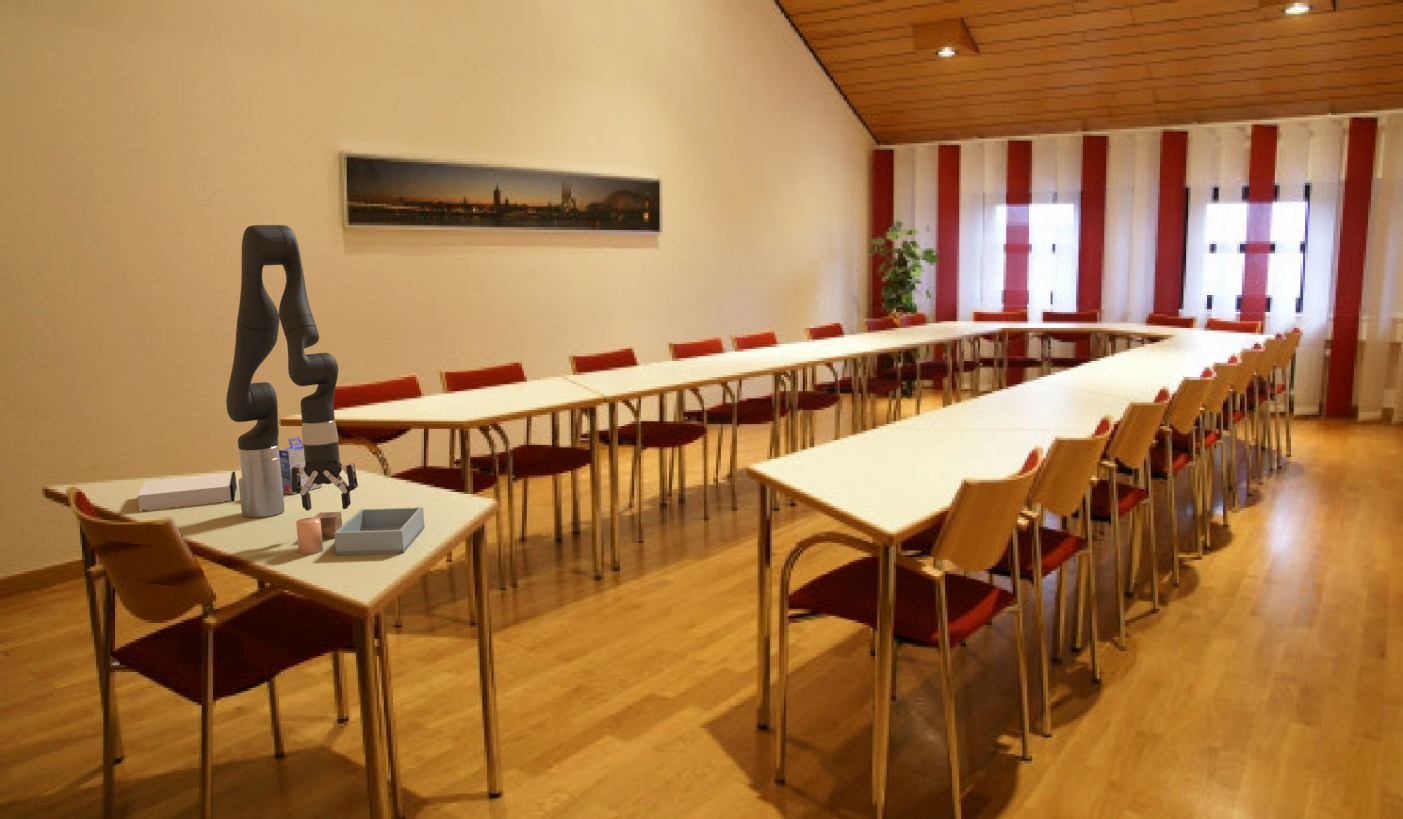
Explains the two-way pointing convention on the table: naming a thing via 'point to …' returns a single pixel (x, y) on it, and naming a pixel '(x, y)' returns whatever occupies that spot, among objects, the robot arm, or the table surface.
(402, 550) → the tote
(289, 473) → the ink cartridge box
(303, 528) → the orange round part
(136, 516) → the table surface
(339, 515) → the cube
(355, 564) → the table surface
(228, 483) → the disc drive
